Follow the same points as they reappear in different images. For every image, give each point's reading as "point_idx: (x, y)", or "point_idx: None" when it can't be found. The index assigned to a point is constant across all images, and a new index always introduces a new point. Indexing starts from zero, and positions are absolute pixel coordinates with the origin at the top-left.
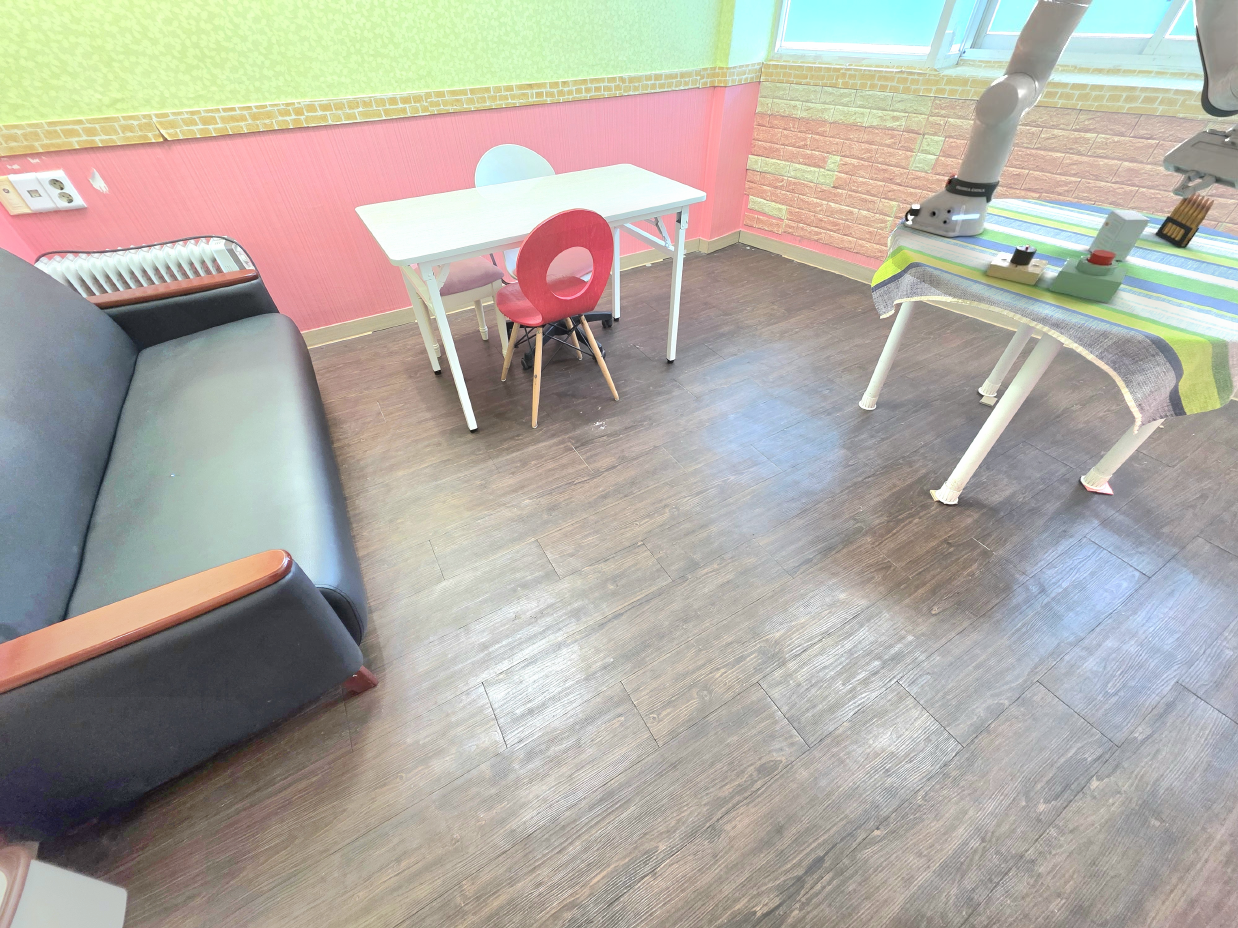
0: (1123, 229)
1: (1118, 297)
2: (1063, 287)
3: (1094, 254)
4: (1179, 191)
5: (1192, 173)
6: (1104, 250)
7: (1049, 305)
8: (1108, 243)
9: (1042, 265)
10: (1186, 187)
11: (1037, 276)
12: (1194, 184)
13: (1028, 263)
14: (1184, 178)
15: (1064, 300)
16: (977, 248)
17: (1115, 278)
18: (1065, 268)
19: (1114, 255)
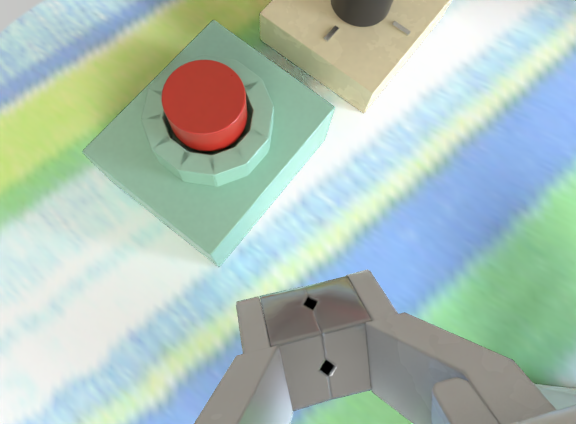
0: None
1: (151, 239)
2: None
3: (202, 61)
4: (306, 286)
5: (480, 413)
6: (235, 113)
7: (117, 15)
8: (544, 386)
9: (331, 54)
10: (299, 320)
11: (260, 18)
12: (266, 363)
13: (335, 7)
14: (448, 341)
15: (146, 70)
16: (572, 20)
17: (124, 153)
18: (230, 43)
19: (173, 117)
